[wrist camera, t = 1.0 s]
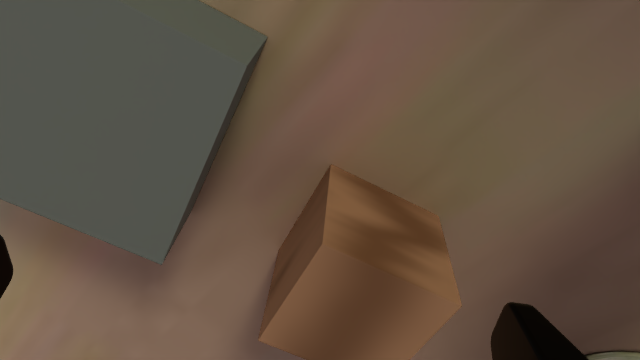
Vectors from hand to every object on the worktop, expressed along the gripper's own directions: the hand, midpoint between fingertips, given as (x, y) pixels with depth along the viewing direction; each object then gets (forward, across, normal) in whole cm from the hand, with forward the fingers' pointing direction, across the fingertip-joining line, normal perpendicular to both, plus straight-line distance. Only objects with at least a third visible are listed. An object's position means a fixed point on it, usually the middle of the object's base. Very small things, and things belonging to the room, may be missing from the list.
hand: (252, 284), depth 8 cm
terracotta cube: (+13, -3, +8) cm, 16 cm away
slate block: (+13, +8, +2) cm, 15 cm away
